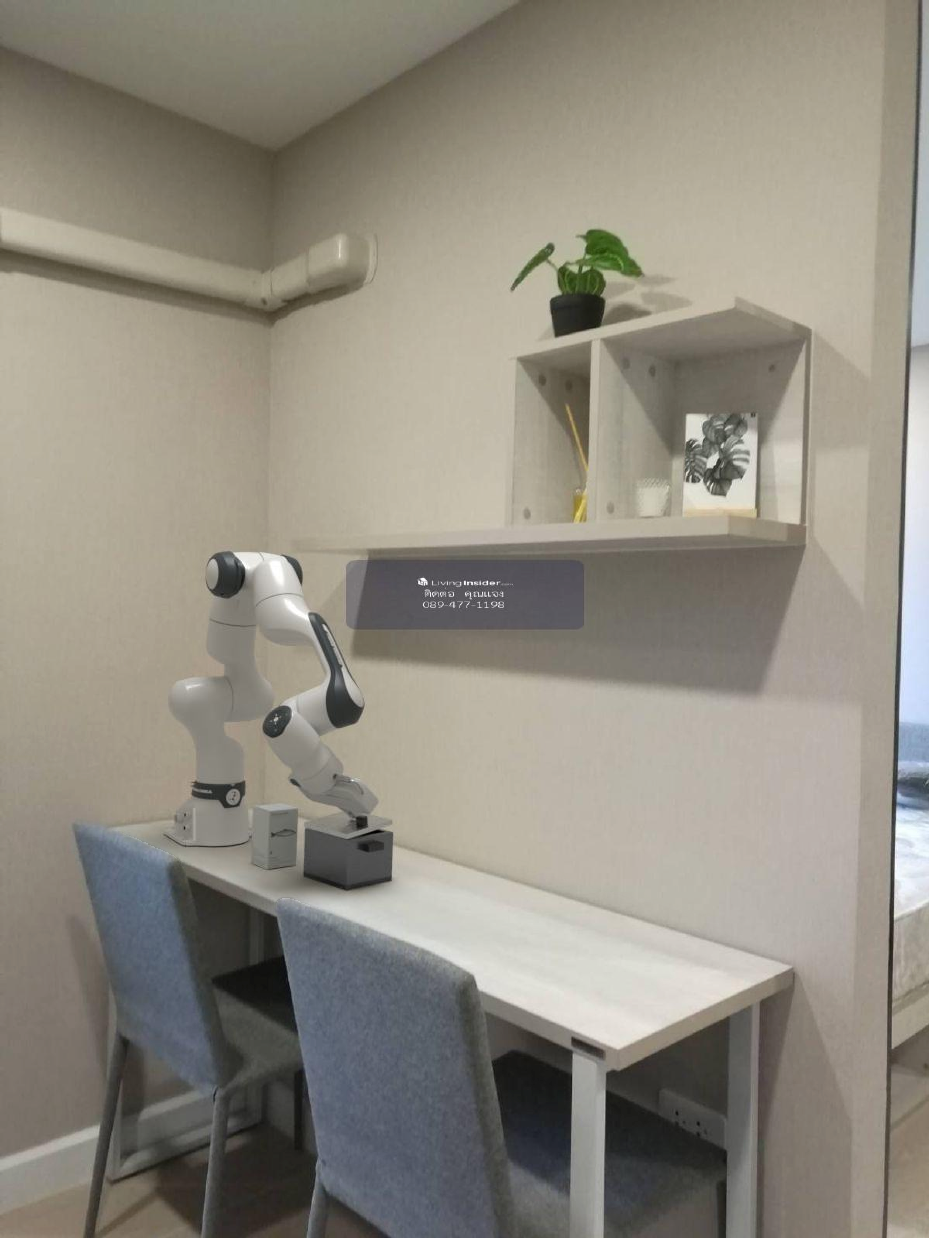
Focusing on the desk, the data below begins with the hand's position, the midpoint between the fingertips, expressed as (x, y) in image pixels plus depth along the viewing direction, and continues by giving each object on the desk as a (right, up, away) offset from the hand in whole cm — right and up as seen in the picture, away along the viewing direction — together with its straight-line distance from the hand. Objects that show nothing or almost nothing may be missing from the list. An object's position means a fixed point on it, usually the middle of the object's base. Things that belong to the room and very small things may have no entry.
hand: (357, 816), depth 205 cm
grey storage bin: (-2, -13, -1) cm, 13 cm away
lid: (-2, -2, -1) cm, 3 cm away
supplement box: (-19, -12, +9) cm, 24 cm away
